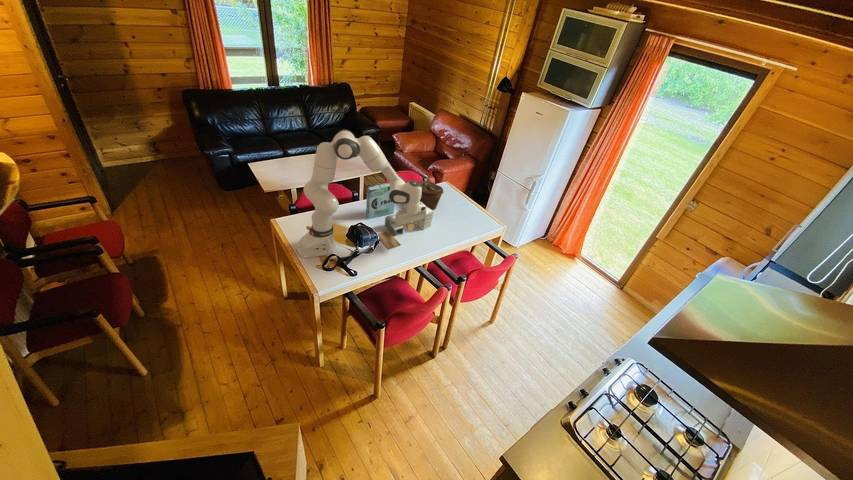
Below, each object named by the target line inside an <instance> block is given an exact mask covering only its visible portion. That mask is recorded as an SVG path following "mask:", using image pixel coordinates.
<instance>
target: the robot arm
mask: <svg viewBox="0 0 853 480" xmlns="http://www.w3.org/2000/svg"><path fill="white" fill-rule="evenodd" d="M330 141H331V142H328V141H326V142H325V141H323V142H321V143H319V144H318V146H317V147H316V148H317V149H316V152H315V155H314V161H313V167H312V168H313V169H312V175H311V178H310V180H309V181H307V182H306V183H305V184H304V186H303V190H302V191H303V193H304V195H305V197H306V199H308V201H309V202H310V203H312V204H313V207H314V211H313V212H312V213H311V222H312V223H311V226H309V225H306V230H307V231H308V232H307V233H306V234H304V235H303V236H302V237H301V238H300V241H299V242H298V243H297V244H296V246H295V248H296V251H297V254H299V256H300V257H302V258H304V259H310V258H317V257H323V256H327V255H331V254H332V253H333V250H334V249H335V248H336V246H337V244H336V241H335V238H334V225H333V214H334V213H335V212H337V210H338V209H339V205H340V203H339V201H338V199H337V198H336V196H335V195H334V194H333V193H332V192H331V191H330V190H329V189H328V188H329V187H328V186H329V184H330V183H332V182H333V181H334V180H335V176H336V169H337V163H338V158H339V159H341V160H346V161H347V160H351V159H352V158H357V157H360V158H361V160H362V162H363V163H364V165H365V166H366V167H367V168H368V169H369V170H370V171H371V172H377V173H378V172H381V173H382V174H383V176H384V177H385V178H386V179H387V181H388V182H389V184H390V192H389V198H390V200H391V201H392V202H393V203H395V204H397V205H403V209H400V210H398V211H397V212H396V213H395V214H396V217H395V223H396V224H397V225H402V224H404V230H406V228H407V227H408V226H407V225H406V224H407V223H409V222H412V223H413V224H414V227H415V226H416V224H417V220H419V219H423V218H425V217H426V208H427V207H426V206H425V205H424V204H423V203H422V202H420V199H421V194H422V187H421V185H420V182H419V181H417V180H409V181H408V182H407V181H406V179H404V178H403V177H402V176H401V175H399V174H398V173H397V171H396V170H395V169H394V168H393V166H392V165H391V163H390V162H389V161H388V159H387V158H386V156H385V153H384V152H383V151H382V149H381V148H380V146H379V145H378V144H377V142H376V141H375V140H374V139H373V138H372V137H371V136H369V135H362V136H360V137H359V138H357V137H356V136H355V134H354V133H353V131H351V130H349V129H343V128H342V129H341V130H339V131H338V132H337V133H336V134H335V135H334V136H333V137H332V138H331V140H330Z"/></svg>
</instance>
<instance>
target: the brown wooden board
mask: <svg viewBox="0 0 853 480" xmlns="http://www.w3.org/2000/svg"><path fill="white" fill-rule="evenodd" d="M377 234H378V236H379V239H378V240H379V241H380V242H381V243H382V244H383V245H384V246H385V248H386V249H387V250H390V249H395V248H396V247H400V246H401V245H402V244H401V243H400V242H399V241H398V240H397V239H396V238H395V236H393V234H392V233H391V232H390V231H389V230H385V231H383V232H379V233H377Z"/></svg>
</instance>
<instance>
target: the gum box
mask: <svg viewBox="0 0 853 480" xmlns="http://www.w3.org/2000/svg"><path fill="white" fill-rule="evenodd" d="M389 192H390V184H389V181H388V182H384V183H379V184H373V185H369V186H366V202H365V203H366V207H365V208H366V209H365V216H366V217H367V220H371V219H375V218H379V217H383V216H387V215H390V214H391V215H392V214H395V204H396V203H393V202H392V201H391V200H390V198H389Z"/></svg>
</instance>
